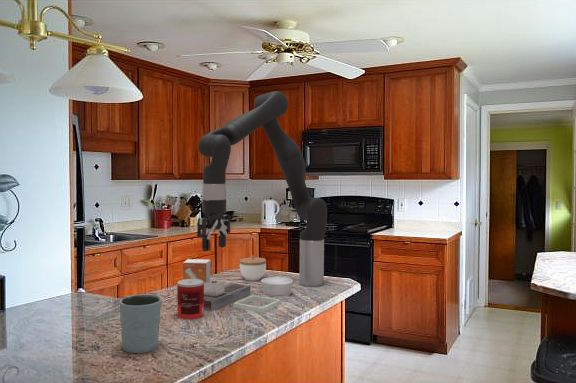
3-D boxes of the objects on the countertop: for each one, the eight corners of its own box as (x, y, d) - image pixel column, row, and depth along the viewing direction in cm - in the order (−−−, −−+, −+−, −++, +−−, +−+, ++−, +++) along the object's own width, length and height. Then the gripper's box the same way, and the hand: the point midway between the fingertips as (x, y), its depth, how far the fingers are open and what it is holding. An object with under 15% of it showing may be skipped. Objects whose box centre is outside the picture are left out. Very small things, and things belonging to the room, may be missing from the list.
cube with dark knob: (212, 301, 160) (212, 279, 160) (224, 303, 158) (224, 281, 158) (204, 304, 156) (204, 282, 156) (215, 306, 154) (215, 284, 154)
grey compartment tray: (230, 294, 172) (230, 283, 172) (250, 297, 169) (250, 285, 168) (190, 310, 153) (190, 297, 153) (211, 314, 149) (211, 301, 149)
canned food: (194, 312, 151) (193, 277, 150) (209, 318, 145) (209, 281, 145) (172, 318, 146) (171, 281, 145) (187, 324, 140) (186, 286, 139)
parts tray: (251, 302, 163) (251, 295, 163) (280, 306, 158) (280, 299, 158) (232, 310, 153) (232, 303, 153) (263, 315, 148) (263, 308, 148)
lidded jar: (233, 279, 196) (233, 256, 195) (252, 274, 204) (252, 252, 203) (253, 283, 189) (253, 259, 188) (271, 278, 197) (271, 255, 197)
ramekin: (292, 299, 167) (292, 284, 167) (259, 299, 167) (259, 283, 167) (292, 291, 178) (293, 276, 178) (262, 290, 179) (262, 276, 178)
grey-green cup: (138, 337, 129) (137, 292, 128) (170, 343, 125) (170, 296, 124) (110, 350, 120) (110, 302, 119) (144, 357, 116) (143, 307, 115)
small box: (182, 301, 164) (182, 262, 163) (187, 296, 170) (187, 258, 170) (206, 301, 163) (206, 262, 163) (210, 296, 170) (210, 259, 169)
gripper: (218, 196, 164) (217, 245, 164) (190, 198, 151) (190, 251, 152) (236, 197, 160) (236, 246, 161) (210, 199, 147) (210, 253, 148)
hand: (214, 249), depth 156 cm, fingers open, 8 cm apart
